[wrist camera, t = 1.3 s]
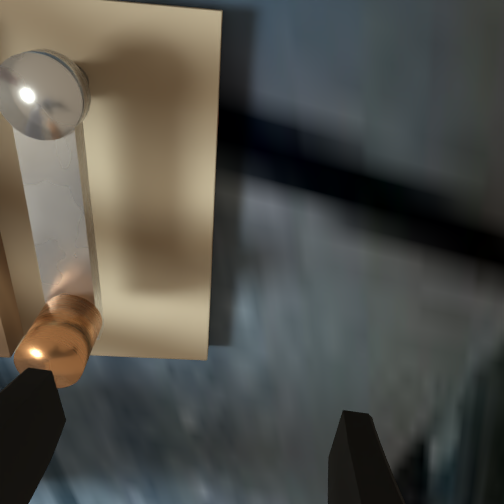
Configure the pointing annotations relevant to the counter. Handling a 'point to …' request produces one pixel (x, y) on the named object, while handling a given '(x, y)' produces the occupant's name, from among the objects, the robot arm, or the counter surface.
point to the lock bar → (56, 208)
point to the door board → (127, 170)
